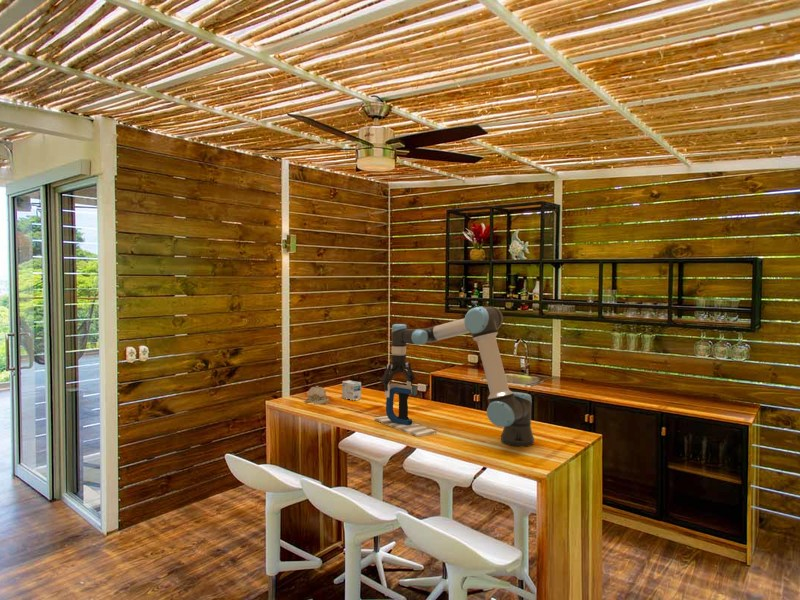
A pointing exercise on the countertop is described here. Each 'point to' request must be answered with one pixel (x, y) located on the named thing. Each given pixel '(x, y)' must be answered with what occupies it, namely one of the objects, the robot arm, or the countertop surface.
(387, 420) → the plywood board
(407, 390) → the handheld scanner
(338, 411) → the countertop surface
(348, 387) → the light bulb box
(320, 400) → the ceramic model
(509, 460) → the countertop surface
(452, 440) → the countertop surface
